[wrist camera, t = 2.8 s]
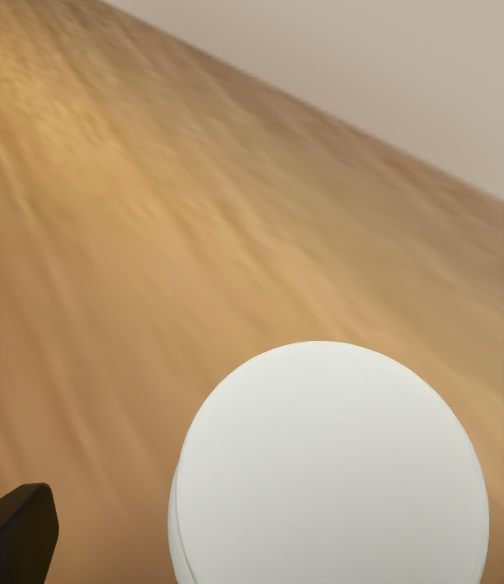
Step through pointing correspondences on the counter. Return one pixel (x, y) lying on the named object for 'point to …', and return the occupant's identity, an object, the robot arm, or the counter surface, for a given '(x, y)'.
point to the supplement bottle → (327, 477)
